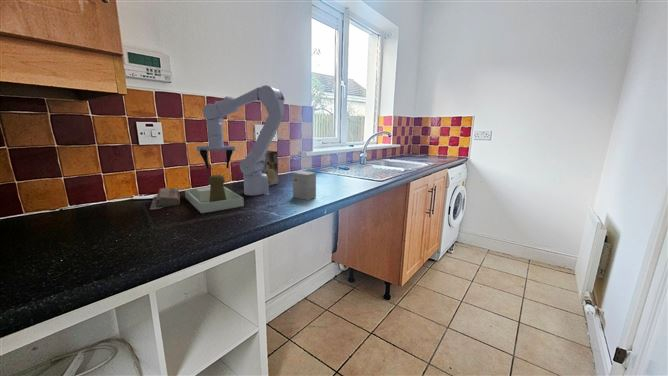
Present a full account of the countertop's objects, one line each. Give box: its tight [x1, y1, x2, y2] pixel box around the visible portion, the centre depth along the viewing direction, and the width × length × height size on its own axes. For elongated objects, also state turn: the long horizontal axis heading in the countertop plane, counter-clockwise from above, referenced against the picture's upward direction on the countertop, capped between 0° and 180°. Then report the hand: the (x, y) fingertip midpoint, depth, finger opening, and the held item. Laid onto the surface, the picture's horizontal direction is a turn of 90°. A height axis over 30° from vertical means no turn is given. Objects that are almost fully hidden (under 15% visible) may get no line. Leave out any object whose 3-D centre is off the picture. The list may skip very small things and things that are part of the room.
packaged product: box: [149, 187, 181, 210], centre depth 101 cm, size 18×5×10 cm
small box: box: [292, 170, 317, 201], centre depth 114 cm, size 8×6×10 cm
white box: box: [194, 185, 210, 202], centre depth 105 cm, size 8×6×4 cm
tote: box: [184, 186, 245, 214], centre depth 102 cm, size 14×22×4 cm, turn 39°
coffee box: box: [262, 150, 279, 187], centre depth 134 cm, size 9×6×16 cm
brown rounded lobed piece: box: [207, 174, 226, 202], centre depth 95 cm, size 6×6×11 cm
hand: (217, 168), depth 116 cm, fingers open, 7 cm apart
